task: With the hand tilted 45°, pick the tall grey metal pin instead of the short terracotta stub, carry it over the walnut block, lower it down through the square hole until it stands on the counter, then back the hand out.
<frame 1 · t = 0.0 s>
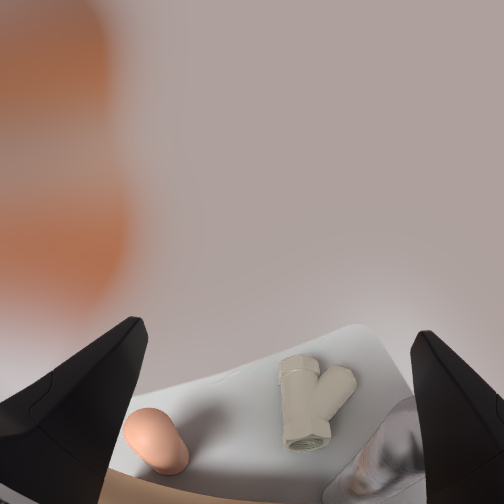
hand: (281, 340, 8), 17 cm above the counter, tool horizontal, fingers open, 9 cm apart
pipe fitting: (317, 413, 22), on the counter
short terracotta pin: (167, 456, 18), on the counter
tall metal pin: (345, 497, 15), on the counter
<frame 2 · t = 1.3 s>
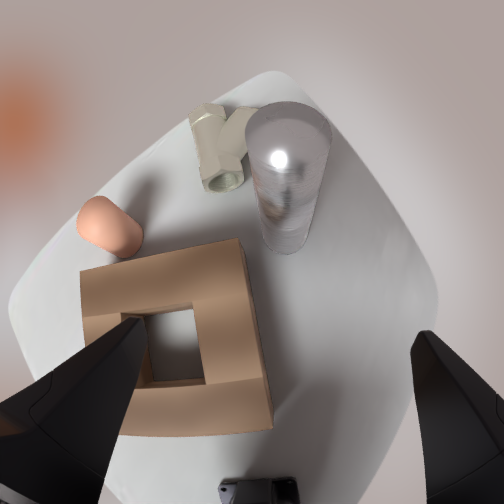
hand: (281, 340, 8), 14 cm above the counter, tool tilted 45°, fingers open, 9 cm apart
pipe fitting: (235, 154, 27), on the counter
short terracotta pin: (126, 238, 25), on the counter
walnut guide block: (179, 345, 22), on the counter
tall metal pin: (284, 233, 24), on the counter
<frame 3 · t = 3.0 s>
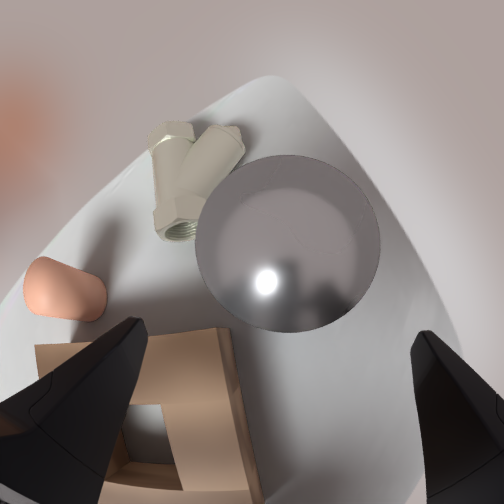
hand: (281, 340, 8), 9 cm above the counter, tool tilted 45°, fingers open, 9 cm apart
pipe fitting: (207, 186, 21), on the counter
short terracotta pin: (88, 298, 19), on the counter
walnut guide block: (154, 430, 16), on the counter
tall metal pin: (282, 302, 18), on the counter
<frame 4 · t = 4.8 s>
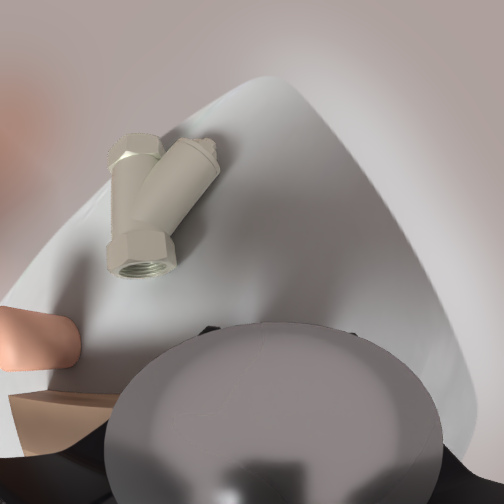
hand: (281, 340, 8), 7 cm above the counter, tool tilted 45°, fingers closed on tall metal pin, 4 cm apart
pipe fitting: (176, 211, 18), on the counter
short terracotta pin: (62, 341, 16), on the counter
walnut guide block: (140, 483, 13), on the counter
tall metal pin: (278, 361, 14), on the counter, touching gripper
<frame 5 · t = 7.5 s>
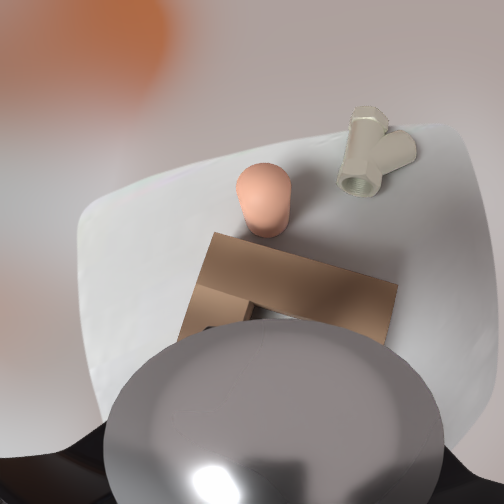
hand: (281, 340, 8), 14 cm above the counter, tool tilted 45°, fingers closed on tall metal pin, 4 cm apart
pipe fitting: (375, 167, 25), on the counter
short terracotta pin: (267, 216, 24), on the counter
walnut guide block: (278, 350, 21), on the counter
tall metal pin: (278, 360, 14), point 7 cm above the counter, touching gripper
when the fingers open (7 cm above the counter, at t = 10.2 s): tall metal pin stays where it is, resting in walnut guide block.
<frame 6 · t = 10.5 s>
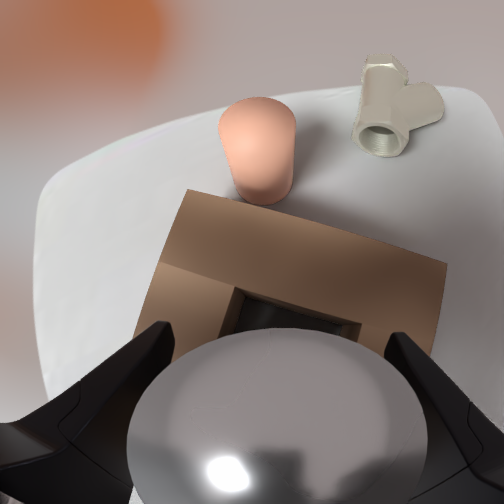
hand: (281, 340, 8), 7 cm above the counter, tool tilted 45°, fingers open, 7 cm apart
pipe fitting: (395, 125, 19), on the counter
short terracotta pin: (263, 179, 18), on the counter
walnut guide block: (278, 360, 15), on the counter
tall metal pin: (278, 361, 15), resting in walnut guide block
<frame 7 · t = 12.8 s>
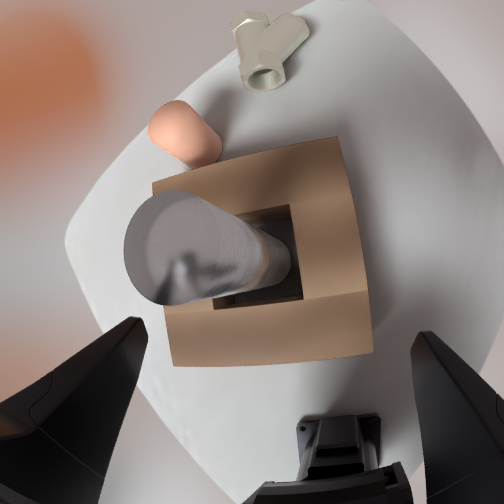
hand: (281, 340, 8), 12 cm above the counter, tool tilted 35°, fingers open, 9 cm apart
pipe fitting: (279, 58, 22), on the counter
short terracotta pin: (202, 149, 23), on the counter
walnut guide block: (266, 260, 21), on the counter
tall metal pin: (266, 261, 21), resting in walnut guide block
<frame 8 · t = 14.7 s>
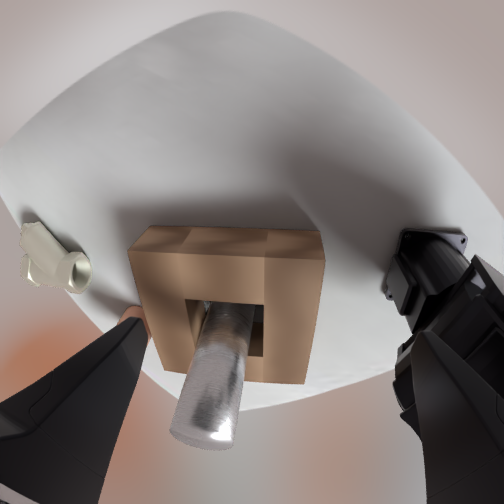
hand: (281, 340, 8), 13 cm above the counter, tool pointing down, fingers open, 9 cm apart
pipe fitting: (60, 245, 25), on the counter
short terracotta pin: (140, 319, 28), on the counter
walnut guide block: (234, 297, 25), on the counter
tall metal pin: (235, 297, 25), resting in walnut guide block
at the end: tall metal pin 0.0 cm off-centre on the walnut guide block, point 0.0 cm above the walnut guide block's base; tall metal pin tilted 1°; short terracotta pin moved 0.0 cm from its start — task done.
